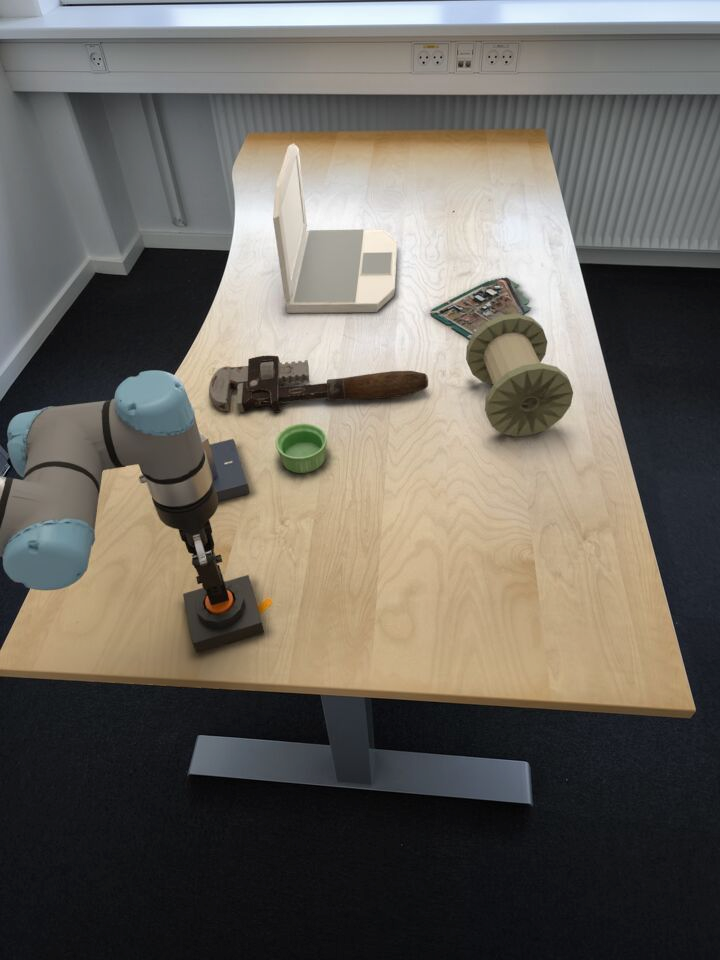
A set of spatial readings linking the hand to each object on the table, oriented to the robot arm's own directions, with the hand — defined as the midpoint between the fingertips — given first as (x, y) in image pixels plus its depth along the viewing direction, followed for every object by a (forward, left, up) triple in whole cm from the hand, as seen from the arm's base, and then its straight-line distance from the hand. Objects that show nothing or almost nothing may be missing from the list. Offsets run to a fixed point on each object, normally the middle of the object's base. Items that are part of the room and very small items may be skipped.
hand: (219, 598), depth 105 cm
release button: (0, 0, -2) cm, 2 cm away
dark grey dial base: (+2, +30, -5) cm, 30 cm away
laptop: (+46, +86, -5) cm, 97 cm away
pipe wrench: (+28, +46, -5) cm, 54 cm away
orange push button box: (0, 0, -5) cm, 5 cm away
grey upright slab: (+2, +30, -2) cm, 30 cm away
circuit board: (+69, +60, -5) cm, 91 cm away
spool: (+61, +28, -5) cm, 67 cm away
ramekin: (+20, +29, -5) cm, 35 cm away
